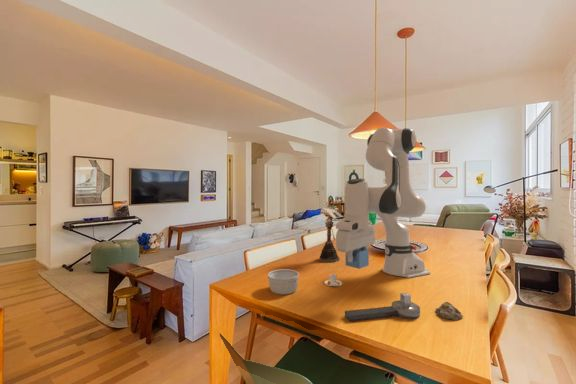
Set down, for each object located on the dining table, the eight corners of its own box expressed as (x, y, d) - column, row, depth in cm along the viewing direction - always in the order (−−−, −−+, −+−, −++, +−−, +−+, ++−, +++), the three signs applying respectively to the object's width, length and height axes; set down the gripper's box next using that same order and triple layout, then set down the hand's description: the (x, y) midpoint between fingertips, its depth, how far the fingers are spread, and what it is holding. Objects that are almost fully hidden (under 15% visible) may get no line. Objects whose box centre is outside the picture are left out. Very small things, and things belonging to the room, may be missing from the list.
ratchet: (352, 326, 86) (352, 305, 86) (341, 313, 95) (341, 294, 95) (426, 317, 91) (426, 298, 91) (409, 306, 100) (409, 288, 100)
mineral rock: (465, 317, 87) (437, 305, 91) (460, 329, 87) (433, 316, 91) (463, 305, 96) (438, 294, 100) (459, 316, 97) (435, 305, 101)
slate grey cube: (354, 262, 106) (354, 246, 106) (368, 265, 102) (368, 249, 101) (345, 265, 102) (345, 249, 102) (359, 268, 98) (359, 252, 97)
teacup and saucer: (337, 289, 118) (337, 279, 118) (320, 285, 122) (320, 276, 122) (344, 282, 125) (344, 274, 125) (328, 279, 129) (328, 271, 129)
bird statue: (351, 260, 162) (351, 201, 161) (340, 264, 152) (340, 202, 151) (327, 255, 173) (327, 200, 172) (315, 259, 163) (315, 201, 162)
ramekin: (275, 298, 108) (275, 281, 107) (263, 287, 119) (263, 271, 119) (304, 292, 114) (304, 275, 114) (290, 282, 125) (289, 267, 125)
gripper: (364, 219, 111) (365, 252, 111) (332, 224, 97) (333, 263, 97) (379, 220, 106) (379, 255, 106) (347, 226, 92) (347, 267, 93)
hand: (357, 259), depth 102 cm, fingers closed on slate grey cube, 6 cm apart
